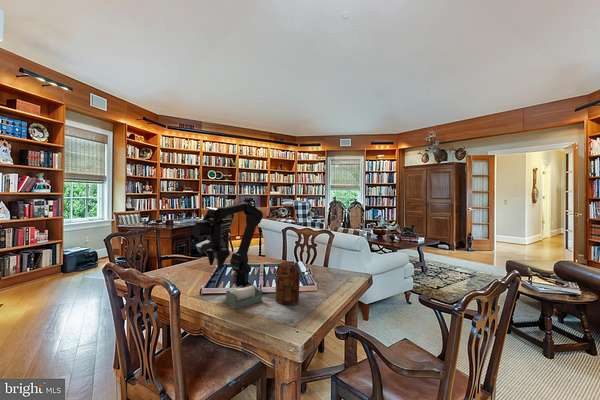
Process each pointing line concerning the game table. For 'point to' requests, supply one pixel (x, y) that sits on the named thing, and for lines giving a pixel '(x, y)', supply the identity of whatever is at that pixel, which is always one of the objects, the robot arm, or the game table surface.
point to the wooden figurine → (287, 283)
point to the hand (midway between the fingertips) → (215, 267)
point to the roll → (244, 293)
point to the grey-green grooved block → (232, 300)
